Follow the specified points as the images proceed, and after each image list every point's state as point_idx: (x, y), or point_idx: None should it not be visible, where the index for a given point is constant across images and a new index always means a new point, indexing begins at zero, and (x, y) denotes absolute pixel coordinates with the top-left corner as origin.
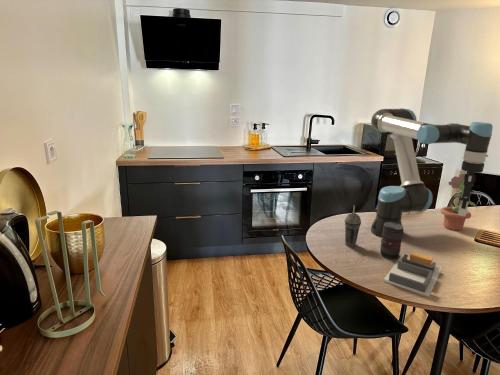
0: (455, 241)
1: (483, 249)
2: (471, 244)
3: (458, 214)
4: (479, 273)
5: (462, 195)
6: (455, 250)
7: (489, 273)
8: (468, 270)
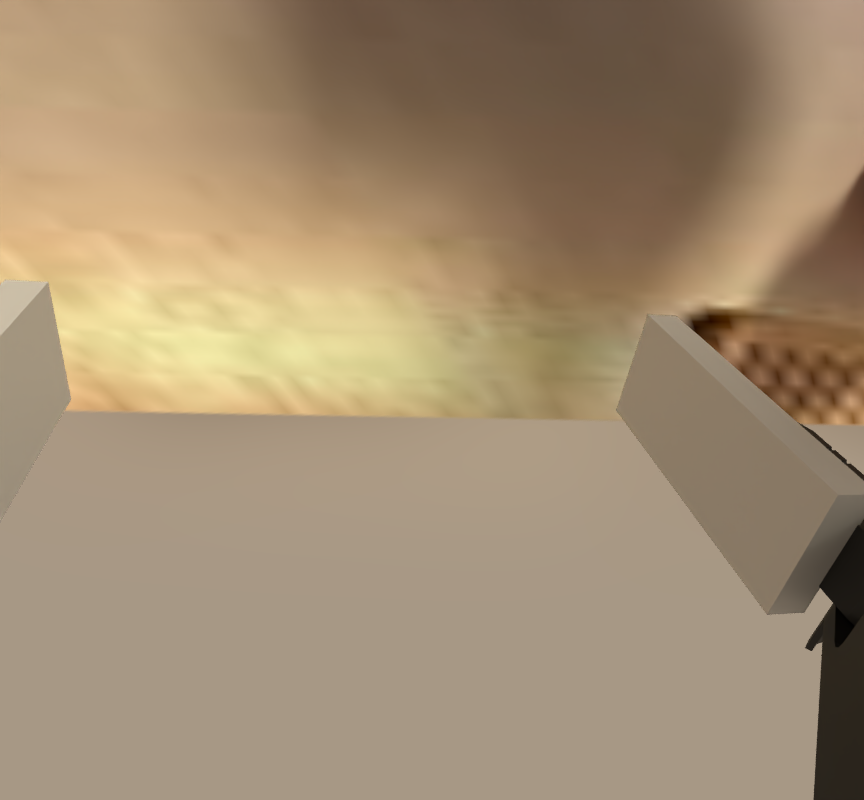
0: (645, 183)
1: (564, 360)
2: (625, 292)
3: (3, 295)
4: (127, 330)
5: (760, 427)
6: (458, 179)
7: (177, 383)
8: (122, 264)
